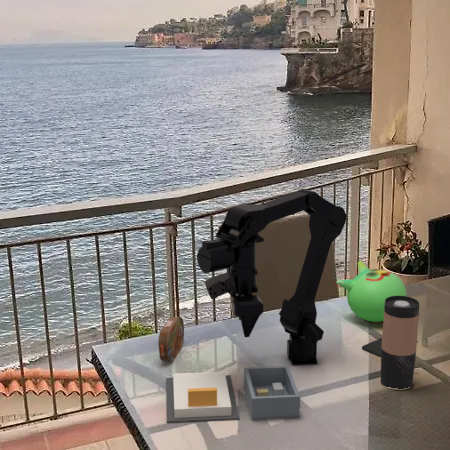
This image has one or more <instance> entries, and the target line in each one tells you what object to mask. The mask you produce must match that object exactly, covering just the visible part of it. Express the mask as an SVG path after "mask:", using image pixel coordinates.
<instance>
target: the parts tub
mask: <svg viewBox="0 0 450 450" xmlns="http://www.w3.org/2000/svg"><path fill="white" fill-rule="evenodd" d="M243 389H244V390H243V391H244V393H245V397H246V402H247V406H248V411H249V415H250V418H251V421H266V420H269V421H270V420H288V419H289V420H290V419H291V420H293V419H300V415H301V414H300V413H301V410H300V409H301V408H300V407H301V395H300V392H299V390H298V387H297V385H296V382H295V379H294V377H293V375H292V372H291V368H290V367H289V365H277V366H276V365H273V366H248V367H247V366H245V367H243Z"/></svg>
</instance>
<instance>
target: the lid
mask: <svg viewBox="0 0 450 450" xmlns="http://www.w3.org/2000/svg"><path fill="white" fill-rule="evenodd" d="M225 375H226V372H225V371H205V372H203V371H202V372H187V373H186V372H182V373H173V374H172V376H173V377H172V378H173V388H174V416H175V418H185V417H207V416H229V415H231V402H230V397H229V392H228V387H227V381H226V376H225Z"/></svg>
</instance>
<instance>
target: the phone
mask: <svg viewBox="0 0 450 450" xmlns="http://www.w3.org/2000/svg"><path fill="white" fill-rule="evenodd" d="M381 346H382V337H380V338H378V339H376V340H372V341H371V342H368V343H367V344H364V345H362V346H361V350H362V351H364V352H367V353H370V354H371V355H373V356H376V357H379V358H381V348H382V347H381Z"/></svg>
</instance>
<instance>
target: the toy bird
mask: <svg viewBox="0 0 450 450" xmlns="http://www.w3.org/2000/svg"><path fill="white" fill-rule="evenodd" d="M357 268H358V274H357V275H356V276H355V277H354V278H353V279H338V280H336V285H338V286H340V288H343V289H345V291H346V292H347V293H346V298H347V303H348V306H349V308H350V310H351V311H352V312H353V314H354V315H356V316H357V317H359V318H360V319H362V320H364V321H368V322H371V323H372V322H373V323H377V322H378V323H379V322H380V323H381V322H383V320H384V307H385V299H386V298H388V297H391V296H407V289H406V286H405V284H404V282H403V280H402V279H401V278H400V277H399V276H398V275H397V274H395V273H393V272H391V271H388V270H384V269H377V268H374V269H370V268H369V267H368V266H367V265H366V263H364V262H363V261H362V260H359V261H358V263H357Z"/></svg>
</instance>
